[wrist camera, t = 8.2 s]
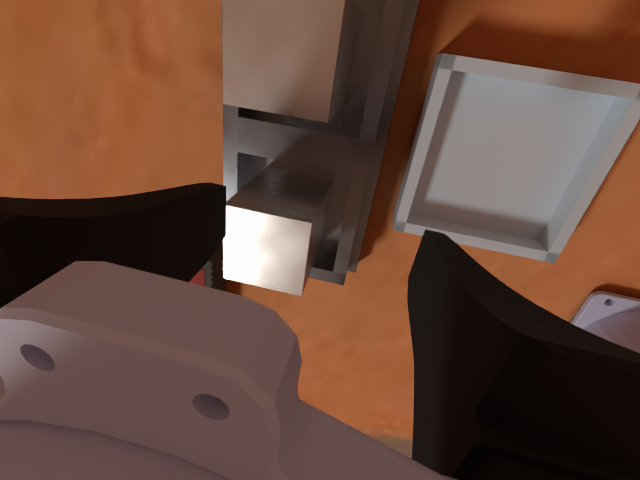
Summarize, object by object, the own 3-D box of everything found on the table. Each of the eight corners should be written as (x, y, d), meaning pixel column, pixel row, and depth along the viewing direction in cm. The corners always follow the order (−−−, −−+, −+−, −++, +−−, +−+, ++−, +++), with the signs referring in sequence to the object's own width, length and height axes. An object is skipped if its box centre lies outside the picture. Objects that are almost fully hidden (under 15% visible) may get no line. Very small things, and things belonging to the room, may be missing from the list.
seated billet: (333, 179, 19) (311, 223, 14) (323, 238, 21) (301, 296, 16) (267, 166, 20) (222, 204, 14) (263, 225, 22) (223, 278, 16)
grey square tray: (629, 83, 16) (659, 86, 14) (540, 245, 20) (554, 263, 18) (437, 54, 16) (442, 53, 15) (392, 215, 21) (393, 229, 19)
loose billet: (361, 11, 15) (347, -14, 10) (346, 104, 17) (327, 122, 12) (278, -1, 16) (222, -31, 10) (272, 91, 18) (223, 104, 12)
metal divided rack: (424, -26, 15) (431, -44, 13) (357, 263, 23) (353, 288, 20) (237, -51, 16) (207, -73, 13) (234, 236, 24) (215, 257, 21)
